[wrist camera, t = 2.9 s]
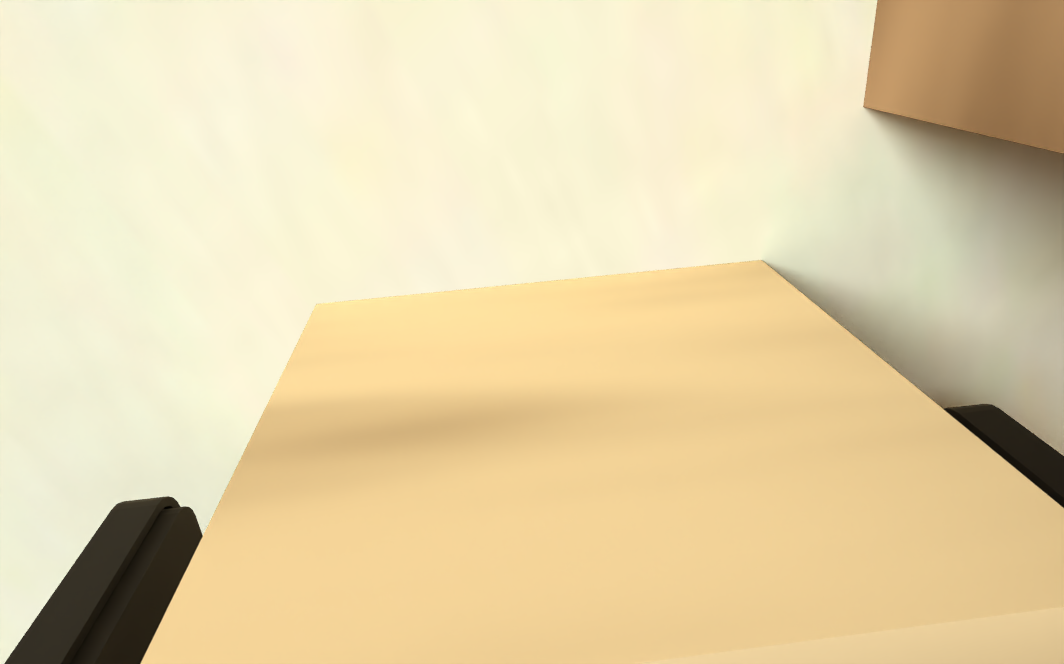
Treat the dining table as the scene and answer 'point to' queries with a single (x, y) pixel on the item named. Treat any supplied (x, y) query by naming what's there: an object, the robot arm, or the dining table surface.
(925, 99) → the tower base
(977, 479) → the block
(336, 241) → the dining table surface
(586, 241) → the dining table surface
